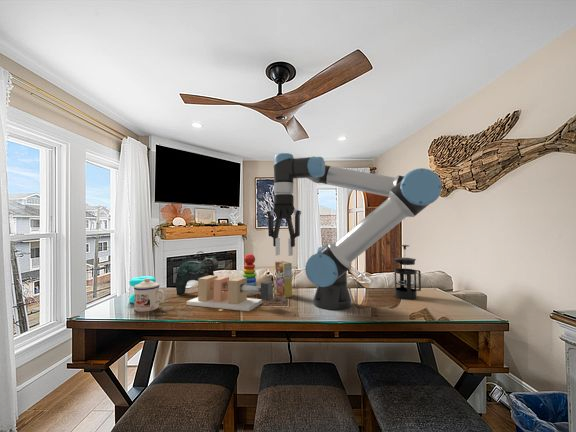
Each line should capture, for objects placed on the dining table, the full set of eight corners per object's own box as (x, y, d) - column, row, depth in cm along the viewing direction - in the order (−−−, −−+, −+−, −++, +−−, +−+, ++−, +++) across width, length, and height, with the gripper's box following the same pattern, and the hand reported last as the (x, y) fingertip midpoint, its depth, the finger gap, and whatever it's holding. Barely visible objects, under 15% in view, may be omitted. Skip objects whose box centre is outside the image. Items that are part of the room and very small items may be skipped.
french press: (396, 299, 126) (395, 245, 126) (390, 294, 135) (389, 244, 136) (424, 299, 125) (423, 245, 126) (416, 294, 134) (415, 244, 135)
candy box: (274, 294, 137) (274, 261, 138) (283, 292, 139) (282, 260, 140) (283, 298, 129) (283, 263, 130) (292, 297, 131) (292, 262, 132)
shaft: (272, 296, 116) (272, 281, 116) (267, 299, 111) (267, 283, 112) (225, 292, 123) (225, 278, 123) (219, 295, 118) (219, 280, 119)
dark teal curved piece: (219, 293, 140) (219, 250, 140) (213, 296, 133) (213, 252, 134) (180, 291, 143) (180, 250, 143) (172, 295, 136) (173, 251, 137)
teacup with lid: (128, 311, 110) (128, 280, 111) (143, 305, 119) (143, 276, 120) (157, 312, 109) (157, 281, 109) (170, 306, 118) (171, 276, 118)
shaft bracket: (262, 303, 121) (261, 277, 122) (248, 311, 110) (248, 283, 110) (204, 297, 131) (204, 274, 131) (186, 304, 119) (186, 278, 120)
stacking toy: (254, 296, 132) (254, 255, 133) (237, 296, 134) (237, 254, 134) (259, 292, 140) (259, 253, 140) (243, 292, 141) (243, 253, 142)
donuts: (139, 275, 132) (160, 276, 130) (139, 297, 131) (160, 298, 130) (123, 279, 122) (145, 280, 120) (123, 303, 121) (145, 304, 120)
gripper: (308, 194, 114) (308, 255, 113) (266, 196, 119) (266, 253, 119) (303, 192, 107) (303, 257, 106) (258, 194, 112) (259, 255, 112)
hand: (284, 255), depth 112 cm, fingers open, 4 cm apart
